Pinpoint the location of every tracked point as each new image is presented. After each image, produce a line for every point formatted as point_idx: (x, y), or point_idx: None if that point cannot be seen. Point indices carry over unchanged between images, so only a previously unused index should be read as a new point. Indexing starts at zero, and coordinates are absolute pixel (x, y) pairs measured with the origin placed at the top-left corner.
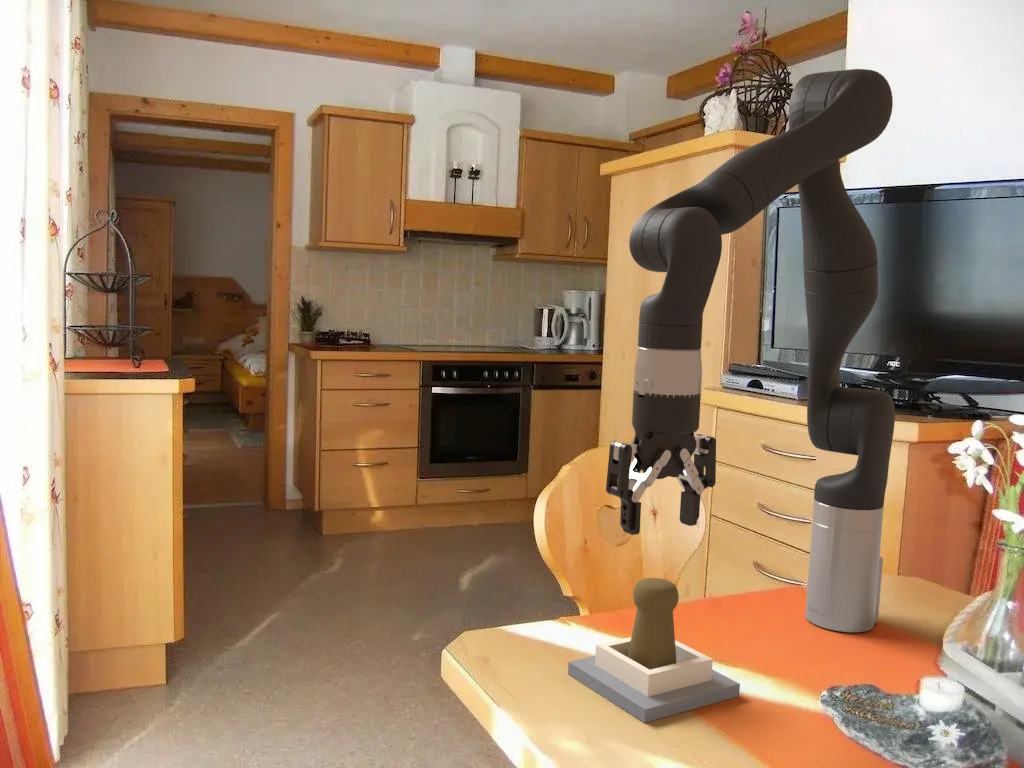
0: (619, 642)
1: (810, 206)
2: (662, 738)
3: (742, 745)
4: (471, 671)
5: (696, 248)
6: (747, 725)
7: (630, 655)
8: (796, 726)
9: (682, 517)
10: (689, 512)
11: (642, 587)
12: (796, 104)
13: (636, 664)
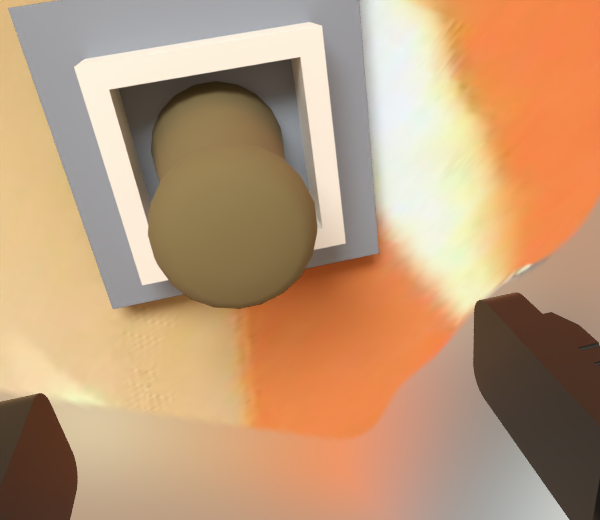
0: (157, 73)
1: None
2: (125, 348)
3: (253, 390)
4: None
5: None
6: (306, 339)
7: (155, 155)
8: (383, 357)
9: (492, 330)
10: (513, 414)
11: (164, 264)
12: None
13: (137, 227)
